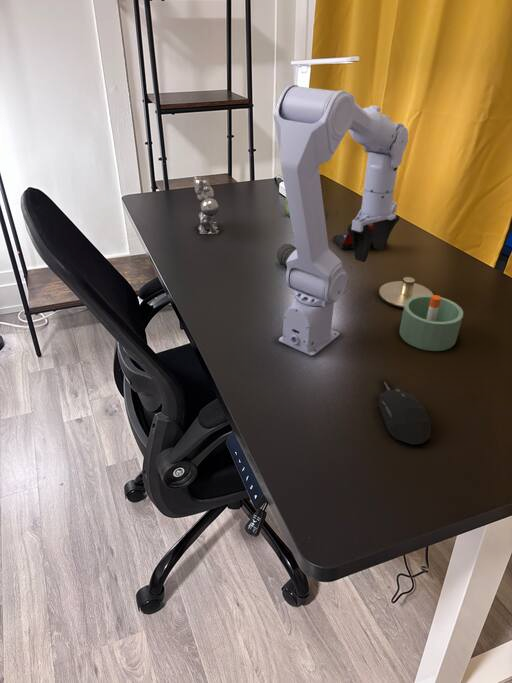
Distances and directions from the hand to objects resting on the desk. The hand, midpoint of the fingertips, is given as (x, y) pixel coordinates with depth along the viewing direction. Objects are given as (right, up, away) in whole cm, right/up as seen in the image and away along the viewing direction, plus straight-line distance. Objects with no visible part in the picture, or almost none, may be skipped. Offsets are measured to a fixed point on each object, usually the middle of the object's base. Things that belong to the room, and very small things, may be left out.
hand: (369, 254), depth 104 cm
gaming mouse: (-1, -30, -25) cm, 39 cm away
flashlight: (-13, -3, +15) cm, 20 cm away
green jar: (-12, +20, +47) cm, 53 cm away
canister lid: (+9, -8, +6) cm, 13 cm away
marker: (+10, -16, -7) cm, 20 cm away
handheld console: (+4, +7, +30) cm, 31 cm away
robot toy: (-37, +12, +36) cm, 53 cm away
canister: (+10, -17, -6) cm, 21 cm away
